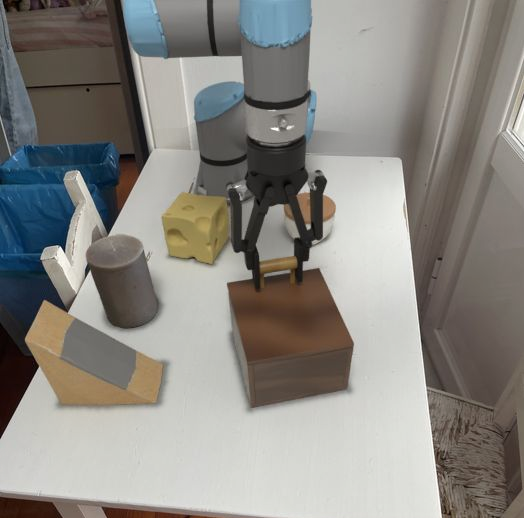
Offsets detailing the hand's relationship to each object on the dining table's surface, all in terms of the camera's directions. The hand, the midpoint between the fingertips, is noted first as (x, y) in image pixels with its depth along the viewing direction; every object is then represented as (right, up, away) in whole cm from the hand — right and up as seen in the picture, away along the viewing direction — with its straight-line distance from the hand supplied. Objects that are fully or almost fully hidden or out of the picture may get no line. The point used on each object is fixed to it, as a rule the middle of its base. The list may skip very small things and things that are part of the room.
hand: (277, 279), depth 77 cm
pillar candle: (-27, -4, +14) cm, 31 cm away
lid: (+1, -6, -3) cm, 6 cm away
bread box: (+2, -13, +5) cm, 14 cm away
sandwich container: (-27, -17, +2) cm, 32 cm away
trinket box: (+8, +13, +29) cm, 33 cm away
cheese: (-16, +11, +28) cm, 34 cm away
